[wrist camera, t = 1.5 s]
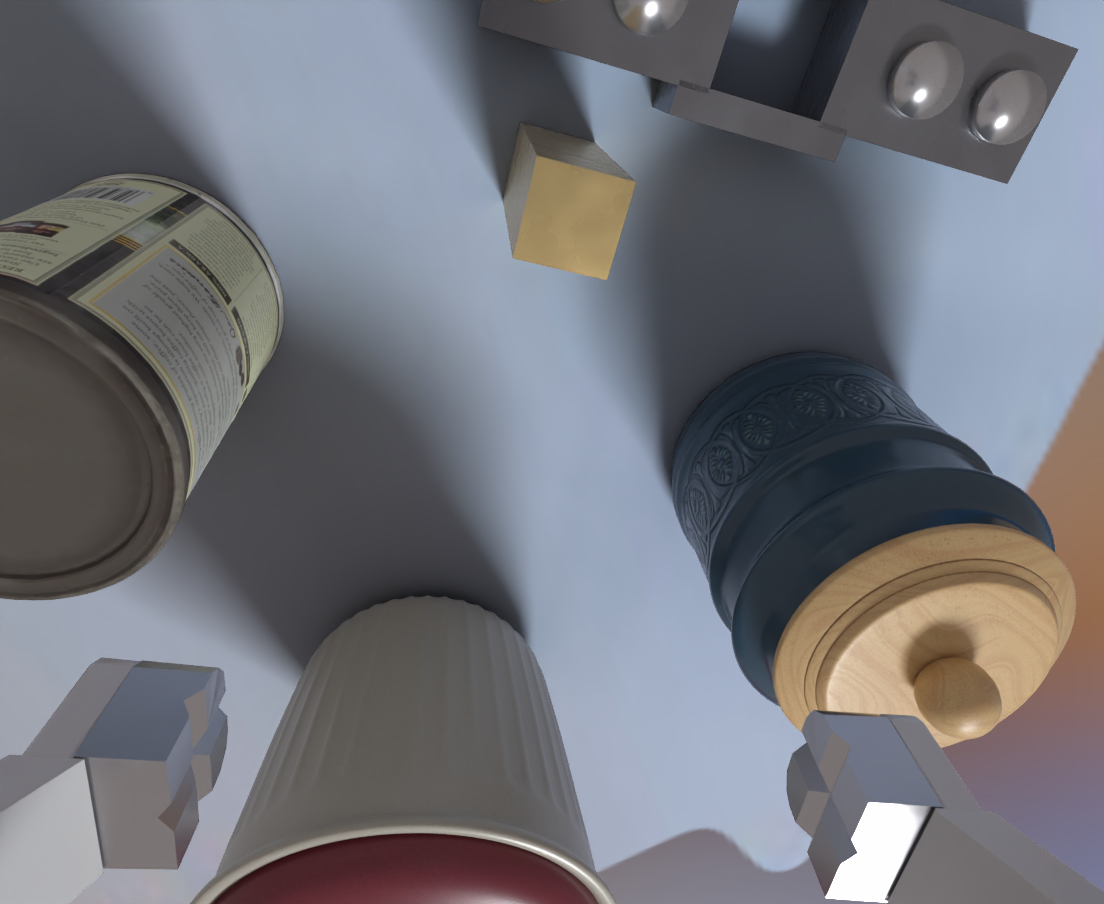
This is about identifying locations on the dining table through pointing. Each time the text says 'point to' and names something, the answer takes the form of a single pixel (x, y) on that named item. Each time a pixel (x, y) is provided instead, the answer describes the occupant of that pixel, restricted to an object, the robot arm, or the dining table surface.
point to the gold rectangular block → (565, 202)
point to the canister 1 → (414, 774)
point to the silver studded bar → (829, 73)
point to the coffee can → (119, 372)
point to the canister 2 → (866, 550)
